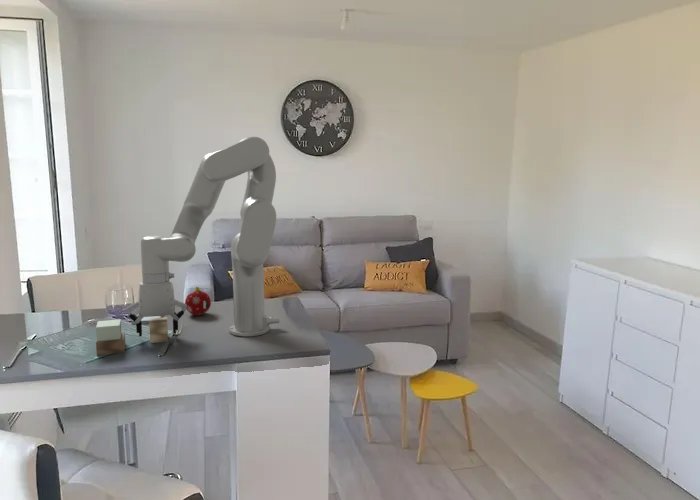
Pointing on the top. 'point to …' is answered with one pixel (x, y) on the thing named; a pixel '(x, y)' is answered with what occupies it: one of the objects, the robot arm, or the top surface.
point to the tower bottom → (111, 346)
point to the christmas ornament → (198, 302)
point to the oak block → (158, 330)
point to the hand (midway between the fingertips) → (157, 333)
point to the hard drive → (147, 319)
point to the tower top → (108, 330)
